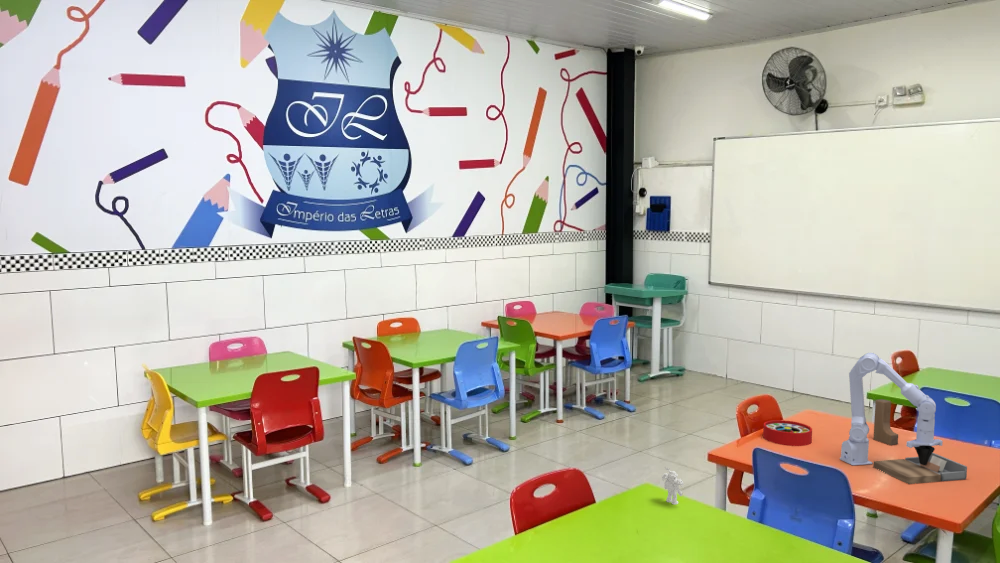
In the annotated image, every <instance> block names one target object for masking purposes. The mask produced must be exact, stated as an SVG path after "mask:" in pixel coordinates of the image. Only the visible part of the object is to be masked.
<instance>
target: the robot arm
mask: <svg viewBox="0 0 1000 563" xmlns="http://www.w3.org/2000/svg"><path fill="white" fill-rule="evenodd" d="M874 371H875V374H880V375H884V376H886V378H887V379H889V380H890V381H891V382H893V383H894V384H895V385H896V386H897V387H898V388H899V389H900V394H901V395H902V396H903V397H904V398H905V399H907V400H908V402H910V403H911V405H913V406H914V407H917V411H918V416H917V421H916V437H915V438H914V439H912V440H908V441H906V444H905V446H906V447H907V448H910V449H912V448H914V449H915V452H916V454H917V457H919V462H920V464H922V465H927V462H928V460H929V458H930V456H931V454H932V453H934V452H935V450H936V448H935V446H941V447H942V446H943V442H944V441H943V440H942V439H937V438H935V439H934V435H935V425H936V424H935V423H936V420H935V417H936V414H935V413H936V411H937V405H936V402H935V401H934V399H933V398H931V397H930V396H929V395H928V394H925V393H924V392H923V391H922V390H921V389H920V387H919V385H918V384H914V383H913V382H912V383H910V382H907V381H906V380H905V379H904V378H903V377H902V376H900V374H898V372H897V371H896V370H895V369H894V368H893V367H891V366H890V365H889V363H887V362H886V361H885V360H884V359H883V358H881V357H879V356H878V355H877V354H876V353H874V352H867V353H865V354H864V355H862V356H861V357H859V358H858V360H857V361H856V363H855V364H854V365H853V367H852V368H851V369H850V370H849V372H848V377H849V378H848V379H849V380H848V381H849V392H850V406H851V408H850V409H851V421H850V427H851V428H850V429H849V431H848V432H849V434H848V435H849V437H848V439H847V440H844V441H843V442H842V443H841V450H840V451H841V452H840V457H839V459H840V460H841V461H843V462H845V463H847V464H849V465H851V466H861V465H863V466H864V465H873V464H874V462H872V461H871V460H869V446H870V442H869V441H870V440H869V438H868V434H869V433H870V427H869V425H868V423H867V418H866V413H865V411H866V410H865V409H866V408H865V398H864V397H865V396H864V381H863V380H864V379H863V378H864V377H865V376H867V374H870V373H871V372H874Z"/></svg>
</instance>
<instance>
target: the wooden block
mask: <svg viewBox="0 0 1000 563" xmlns="http://www.w3.org/2000/svg"><path fill="white" fill-rule="evenodd" d="M874 405H875V407H874V418H873V419H874V422H873V438H872V439H873V441H876V442H879V441H880V442H879V443H882V442H883V443H882V444H885V443H886V444H885V445H888V444H889V445H888V446H895V444H896V445H898V444H899V434H898V433H897V432H895V431H893V429H892V428H891V412H892V411H891V410H892V409H891V408H892V401H891V400H887V399H883V398H880V399H876V400H875V404H874Z"/></svg>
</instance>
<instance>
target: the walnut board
mask: <svg viewBox="0 0 1000 563" xmlns="http://www.w3.org/2000/svg"><path fill="white" fill-rule="evenodd" d="M872 465H873V467H872V468H874V469H876V470H878V469H879V470H878V471H880V470H881V471H880V472H882V471H883V472H882V473H884V472H885V473H884V474H886V473H887V474H886V475H888V474H889V475H888V476H890V475H891V477H892V476H893V477H892V478H894V477H895V479H896V480H898V481H900V482H903V483H906V484H907V483H908V484H907V485H913V484H914V485H915V483H916V484H925V483H926V484H927V483H938V482H942V481H941V475H940V474H937V473H935V472H933V471H931V470H928V469H926V468H924V467H921V466H919V465H917V464H915V463H912V462H910V461H908V460H905V458H901V459H899V458H898V459H889V460H888V459H885V460H883V459H882V460H873V464H872Z"/></svg>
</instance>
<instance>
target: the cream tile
mask: <svg viewBox="0 0 1000 563" xmlns="http://www.w3.org/2000/svg"><path fill="white" fill-rule="evenodd" d="M946 462H947V461H945V460H943V459H940V458H938V457H936V456H932V458H931V460H930V463H933V464H935V465H938V466H940V469H939V471H941V472H942V471H943V469H944V467H945V464H946Z"/></svg>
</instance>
